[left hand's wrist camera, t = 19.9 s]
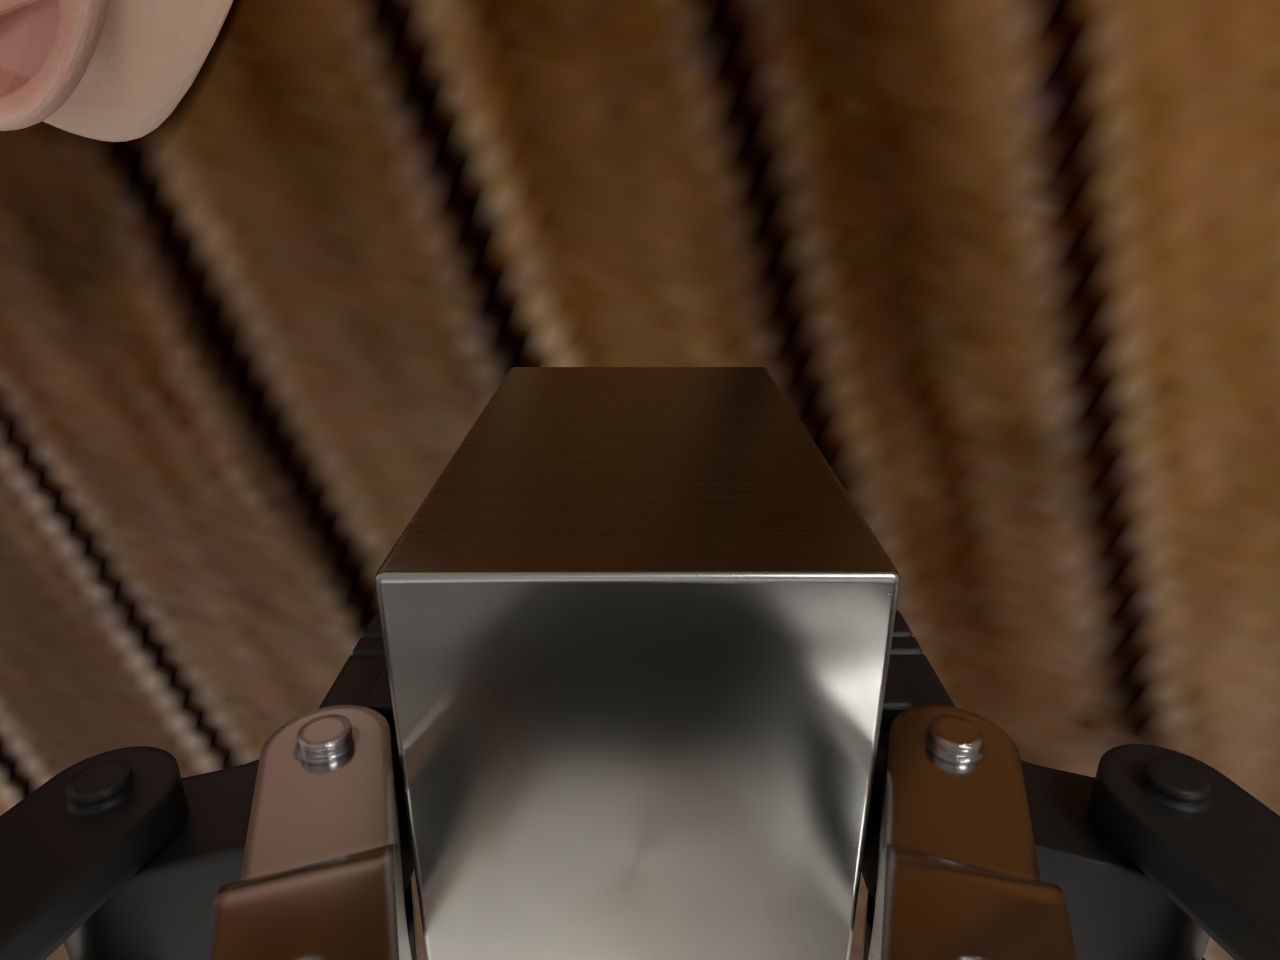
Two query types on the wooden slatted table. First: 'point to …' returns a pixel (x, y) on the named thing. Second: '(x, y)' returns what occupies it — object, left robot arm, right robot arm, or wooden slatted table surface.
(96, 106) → the anatomical model
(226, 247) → the wooden slatted table surface
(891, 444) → the wooden slatted table surface
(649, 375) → the block
